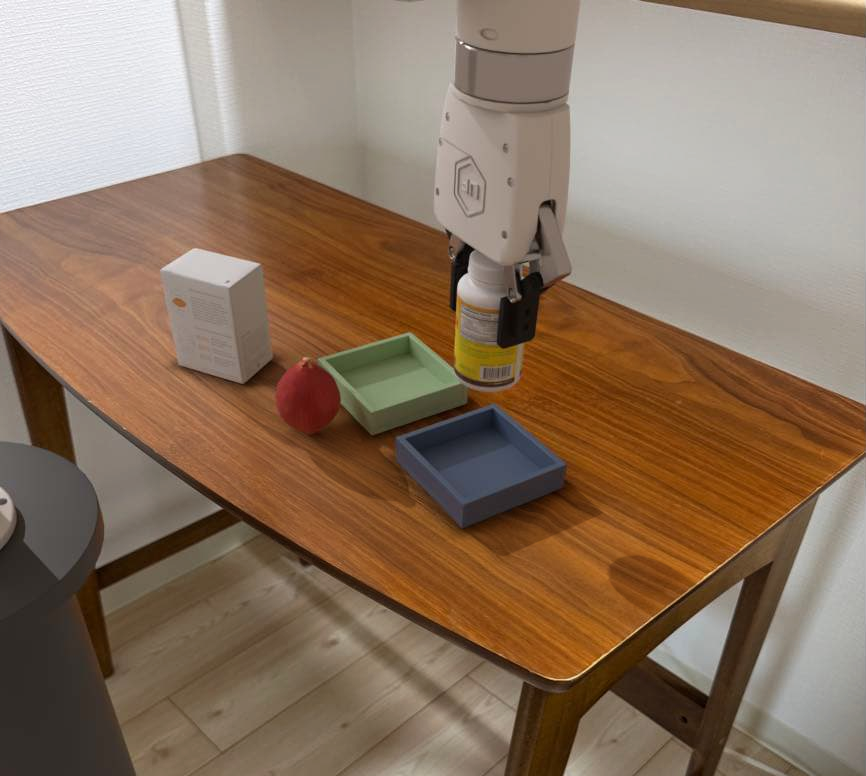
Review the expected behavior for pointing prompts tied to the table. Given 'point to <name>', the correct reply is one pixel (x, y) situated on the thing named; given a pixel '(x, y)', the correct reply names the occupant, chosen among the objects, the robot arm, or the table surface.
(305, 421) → the onion
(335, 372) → the green tray
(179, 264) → the small box
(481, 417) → the slate tray
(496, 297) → the supplement bottle
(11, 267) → the table surface
